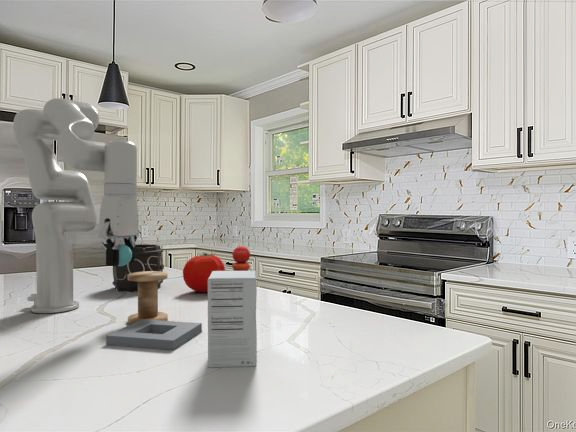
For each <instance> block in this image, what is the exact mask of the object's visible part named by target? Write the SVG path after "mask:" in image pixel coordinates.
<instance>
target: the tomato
mask: <svg viewBox="0 0 576 432" xmlns="http://www.w3.org/2000/svg"><path fill="white" fill-rule="evenodd" d="M215 254H217V252H216V253H210V254H209V253H207V252H202V254H201V255H200V254H199V255H195V256H192V257H191V258H190V259H189V260H187V261H186V263H185V264H184V266H183V269H182V278H183V281H184V283H185V285H186V286H187V287H188V288H189V289H191V290H192V291H195V292H199V293H208V278H209V277H210V275H211V273H212V271H226V267H225V264H224V262H223V260H221V257H219V256H217V255H215Z"/></svg>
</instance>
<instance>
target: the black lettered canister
mask: <svg viewBox="0 0 576 432" xmlns="http://www.w3.org/2000/svg"><path fill="white" fill-rule="evenodd" d="M163 252H164V250H163V249H162V248H161V245H159V244H151V243H150V244H148V243H142V244H141V243H139V244H136V243H135V247H134V262H133V263H128V264H126V265H124V266H112V278H113V281H112V286H114V287H115V290H116V289H117V291H118V292H124V291H126V293H127V292H128V293H134V292H135V291H138V282H136V281H129V280H128V274H130V273H135V272H144V271H162V272H164V268H165V265H164V261H163ZM163 282H164V280H158V289H159V288H161V285H162V284H163Z"/></svg>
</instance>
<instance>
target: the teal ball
mask: <svg viewBox="0 0 576 432" xmlns="http://www.w3.org/2000/svg"><path fill="white" fill-rule="evenodd" d="M117 249H119V265H118V266H124V265H126V264H128V263H129V262H130V261H131V258H132V251H131V249H130V248H129V247H128V246H126V245H124V244H123V243H118V246H117Z"/></svg>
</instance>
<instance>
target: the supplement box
mask: <svg viewBox="0 0 576 432" xmlns="http://www.w3.org/2000/svg"><path fill="white" fill-rule="evenodd" d="M257 285H258V284H257V271H256V270H249V271H233V270H225V271H212V273H211V275H210V277H209V278H208V292H207V367H208V368H234V367H235V368H237V367H257V363H258V362H257V361H258V357H257V356H258V354H257V353H258V349H257V348H258V347H257V345H258V342H257V340H258V338H257V294H258V293H257V292H258V291H257Z"/></svg>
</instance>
